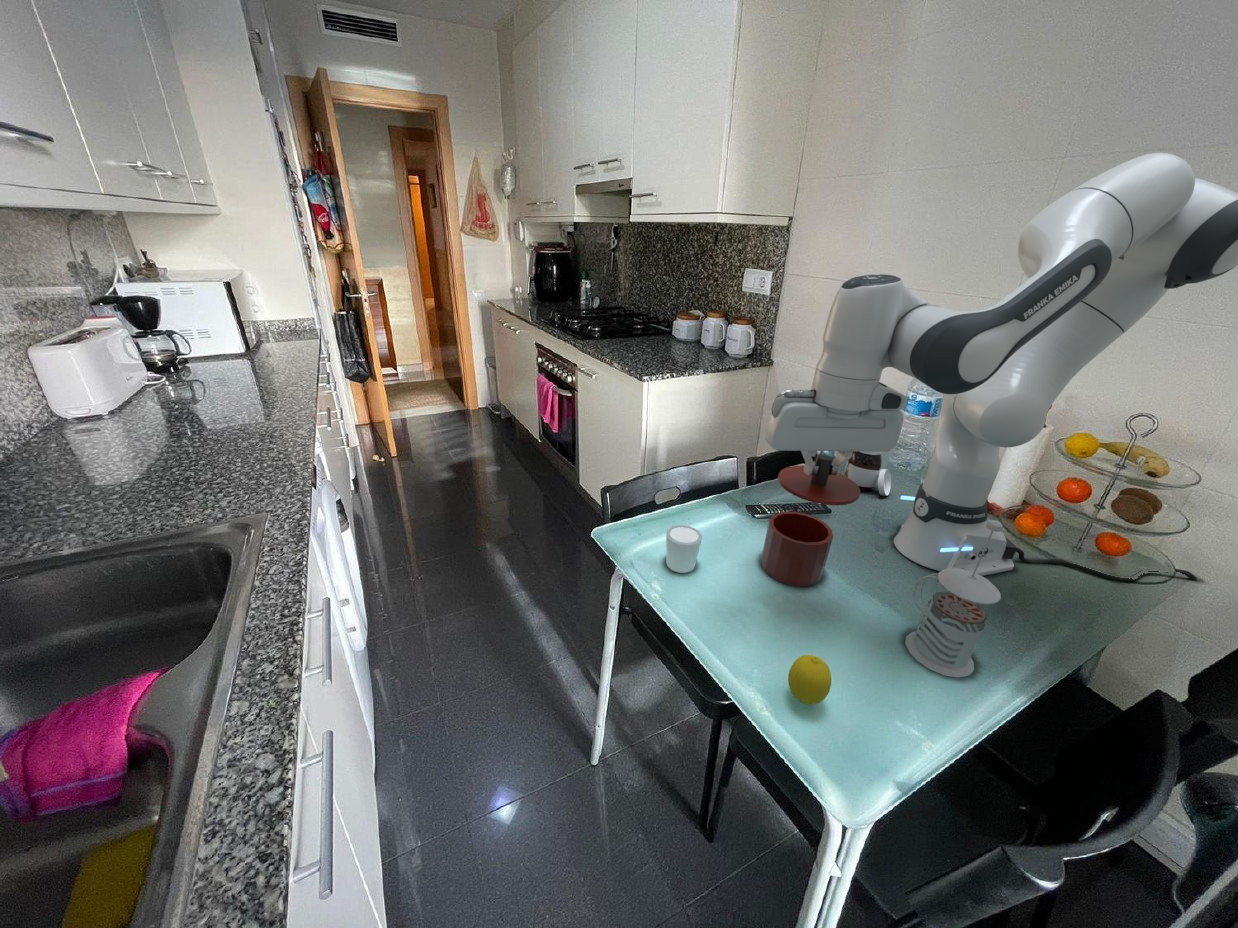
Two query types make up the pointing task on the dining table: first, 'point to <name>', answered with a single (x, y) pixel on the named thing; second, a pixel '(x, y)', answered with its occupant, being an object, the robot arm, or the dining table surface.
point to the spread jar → (868, 471)
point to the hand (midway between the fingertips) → (821, 473)
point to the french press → (942, 642)
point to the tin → (796, 548)
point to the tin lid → (819, 484)
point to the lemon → (809, 679)
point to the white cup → (682, 548)
